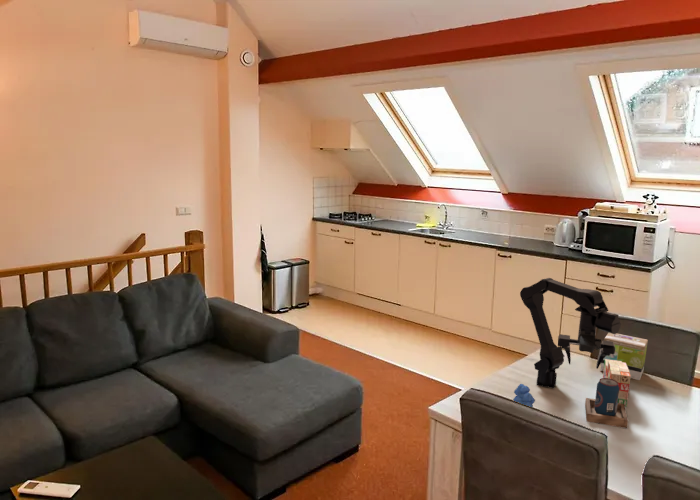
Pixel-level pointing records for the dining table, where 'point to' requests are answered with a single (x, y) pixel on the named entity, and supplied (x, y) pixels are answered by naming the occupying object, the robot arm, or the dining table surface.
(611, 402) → the soda can
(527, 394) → the grapes
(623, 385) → the stack of blocks
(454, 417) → the dining table surface
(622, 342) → the tea box
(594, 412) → the brown open box
